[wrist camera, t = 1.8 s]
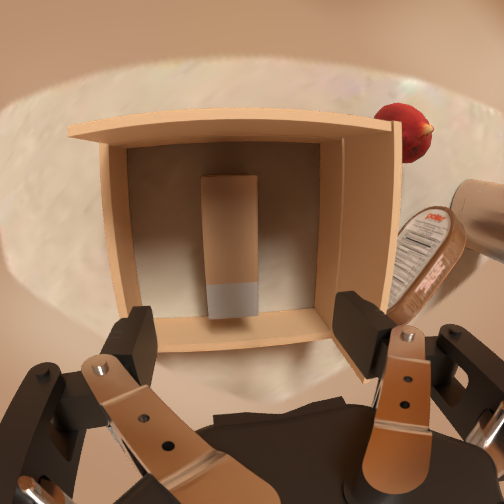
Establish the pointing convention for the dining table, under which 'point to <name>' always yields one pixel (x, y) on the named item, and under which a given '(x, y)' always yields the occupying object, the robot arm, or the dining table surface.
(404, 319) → the tin
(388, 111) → the onion
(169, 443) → the robot arm
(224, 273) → the box
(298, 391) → the dining table surface
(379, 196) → the carton
